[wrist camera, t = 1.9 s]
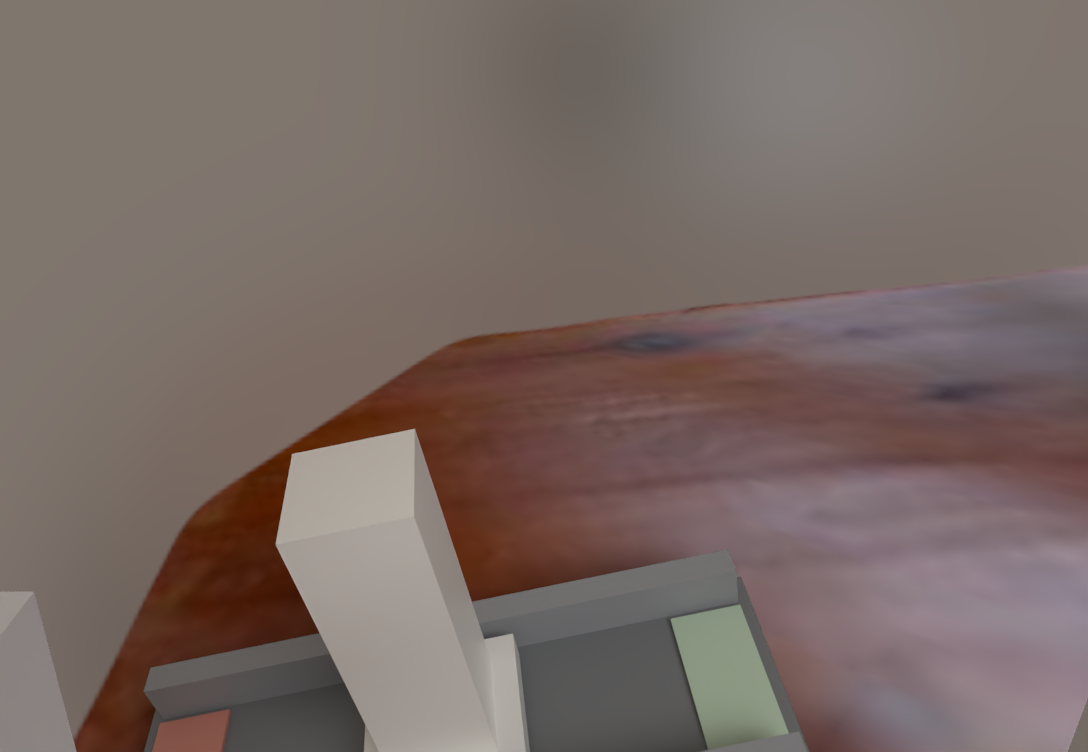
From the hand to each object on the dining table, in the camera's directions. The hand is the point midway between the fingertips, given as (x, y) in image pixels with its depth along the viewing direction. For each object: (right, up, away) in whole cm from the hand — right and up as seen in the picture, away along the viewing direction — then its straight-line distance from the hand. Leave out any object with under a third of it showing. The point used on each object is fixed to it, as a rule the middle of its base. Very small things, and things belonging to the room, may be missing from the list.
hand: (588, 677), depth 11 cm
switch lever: (-4, -10, +23) cm, 26 cm away
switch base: (-4, -12, +25) cm, 28 cm away
